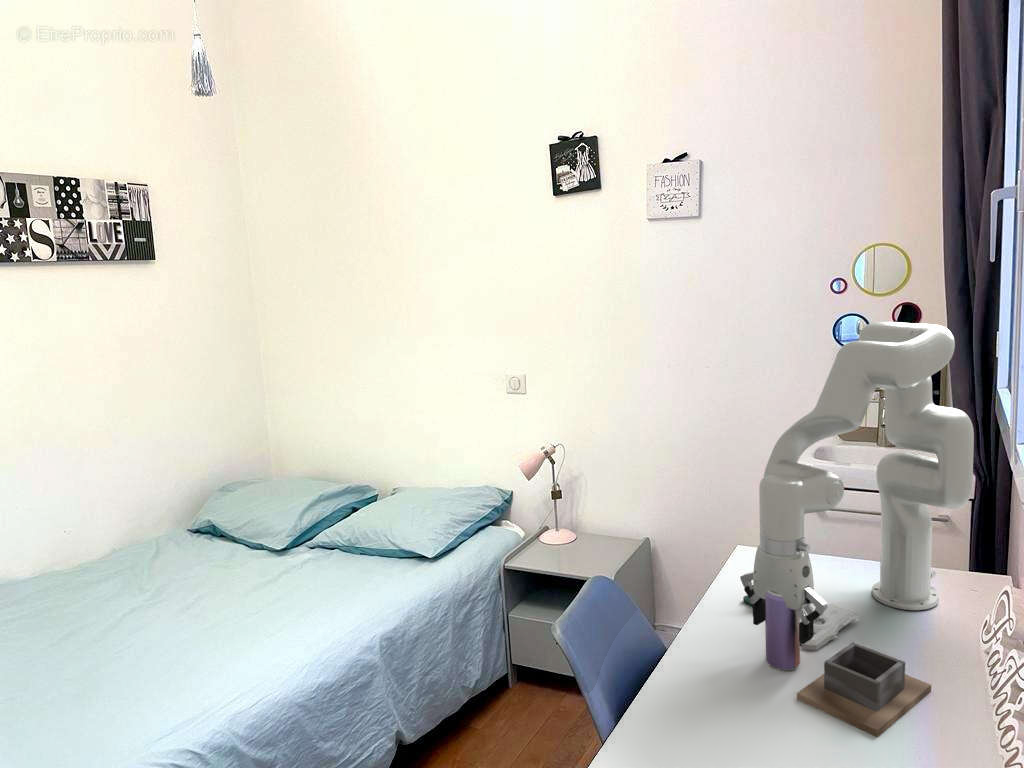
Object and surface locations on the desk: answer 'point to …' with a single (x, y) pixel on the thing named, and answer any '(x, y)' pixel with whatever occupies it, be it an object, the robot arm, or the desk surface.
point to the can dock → (864, 689)
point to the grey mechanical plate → (829, 625)
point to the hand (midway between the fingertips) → (782, 631)
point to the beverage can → (781, 633)
